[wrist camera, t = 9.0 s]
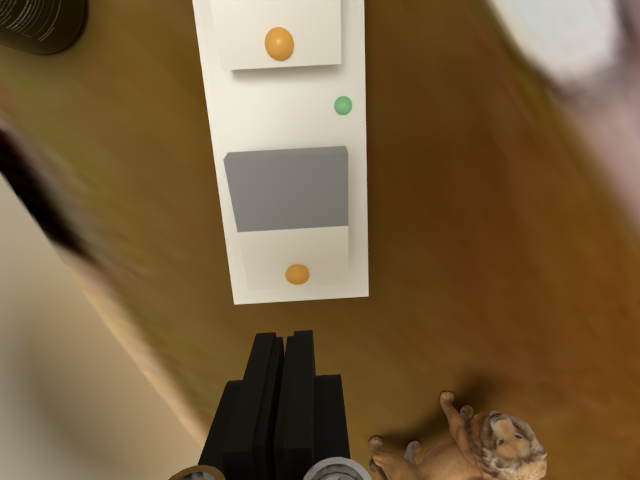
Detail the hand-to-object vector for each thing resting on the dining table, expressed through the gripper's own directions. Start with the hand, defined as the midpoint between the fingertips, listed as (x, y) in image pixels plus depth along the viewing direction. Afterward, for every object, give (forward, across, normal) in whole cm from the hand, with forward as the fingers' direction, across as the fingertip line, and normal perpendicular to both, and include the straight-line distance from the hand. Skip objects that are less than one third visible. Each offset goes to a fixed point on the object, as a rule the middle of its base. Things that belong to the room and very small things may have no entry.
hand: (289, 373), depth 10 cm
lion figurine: (+17, -10, +19) cm, 27 cm away
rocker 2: (+10, 0, -2) cm, 11 cm away
